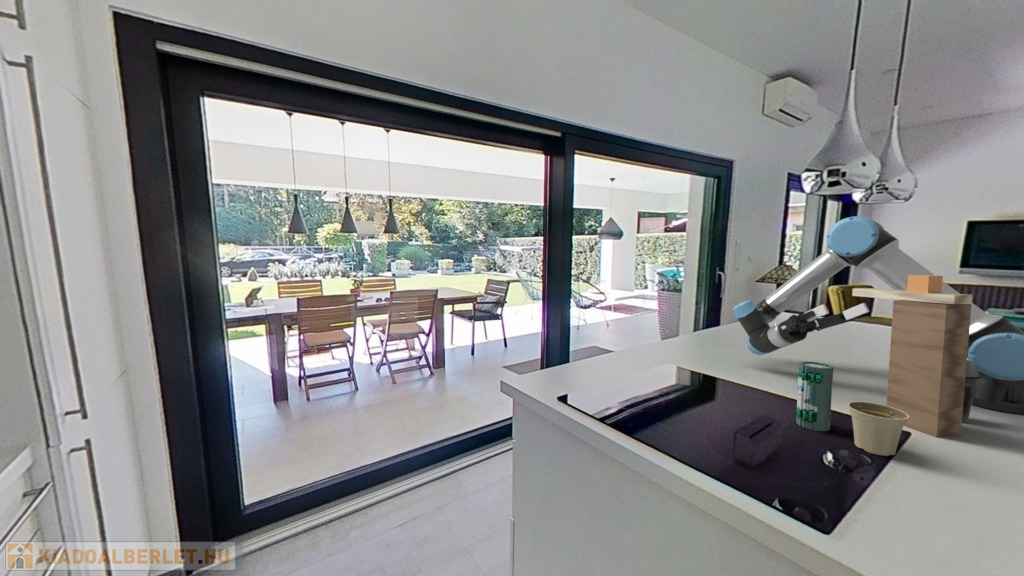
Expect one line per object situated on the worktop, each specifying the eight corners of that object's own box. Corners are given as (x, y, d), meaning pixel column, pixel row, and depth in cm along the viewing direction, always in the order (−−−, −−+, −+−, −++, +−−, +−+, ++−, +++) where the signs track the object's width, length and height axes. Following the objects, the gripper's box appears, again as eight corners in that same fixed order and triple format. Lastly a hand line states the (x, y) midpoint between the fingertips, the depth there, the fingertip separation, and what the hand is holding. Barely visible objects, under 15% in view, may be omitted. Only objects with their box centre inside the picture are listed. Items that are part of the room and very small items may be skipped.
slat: (867, 295, 103) (867, 288, 103) (971, 303, 83) (972, 294, 83) (852, 295, 103) (852, 288, 102) (953, 304, 82) (954, 295, 82)
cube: (920, 291, 91) (921, 275, 91) (941, 292, 87) (942, 275, 87) (907, 291, 91) (908, 275, 90) (927, 293, 87) (929, 276, 86)
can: (792, 419, 95) (795, 360, 94) (820, 421, 93) (824, 362, 92) (803, 429, 89) (807, 367, 88) (834, 432, 87) (838, 369, 86)
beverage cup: (943, 422, 92) (949, 342, 91) (924, 411, 99) (930, 336, 97) (984, 427, 89) (992, 344, 88) (962, 415, 96) (968, 338, 95)
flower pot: (920, 463, 74) (923, 420, 73) (864, 458, 76) (867, 417, 75) (883, 440, 83) (886, 402, 82) (834, 437, 85) (836, 400, 84)
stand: (908, 416, 96) (916, 299, 93) (960, 434, 86) (971, 304, 84) (885, 418, 94) (893, 300, 92) (936, 437, 85) (946, 305, 82)
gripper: (750, 323, 125) (803, 297, 106) (814, 321, 129) (876, 295, 110) (758, 345, 122) (814, 321, 103) (824, 342, 126) (889, 318, 107)
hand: (846, 307), depth 107 cm, fingers open, 13 cm apart
